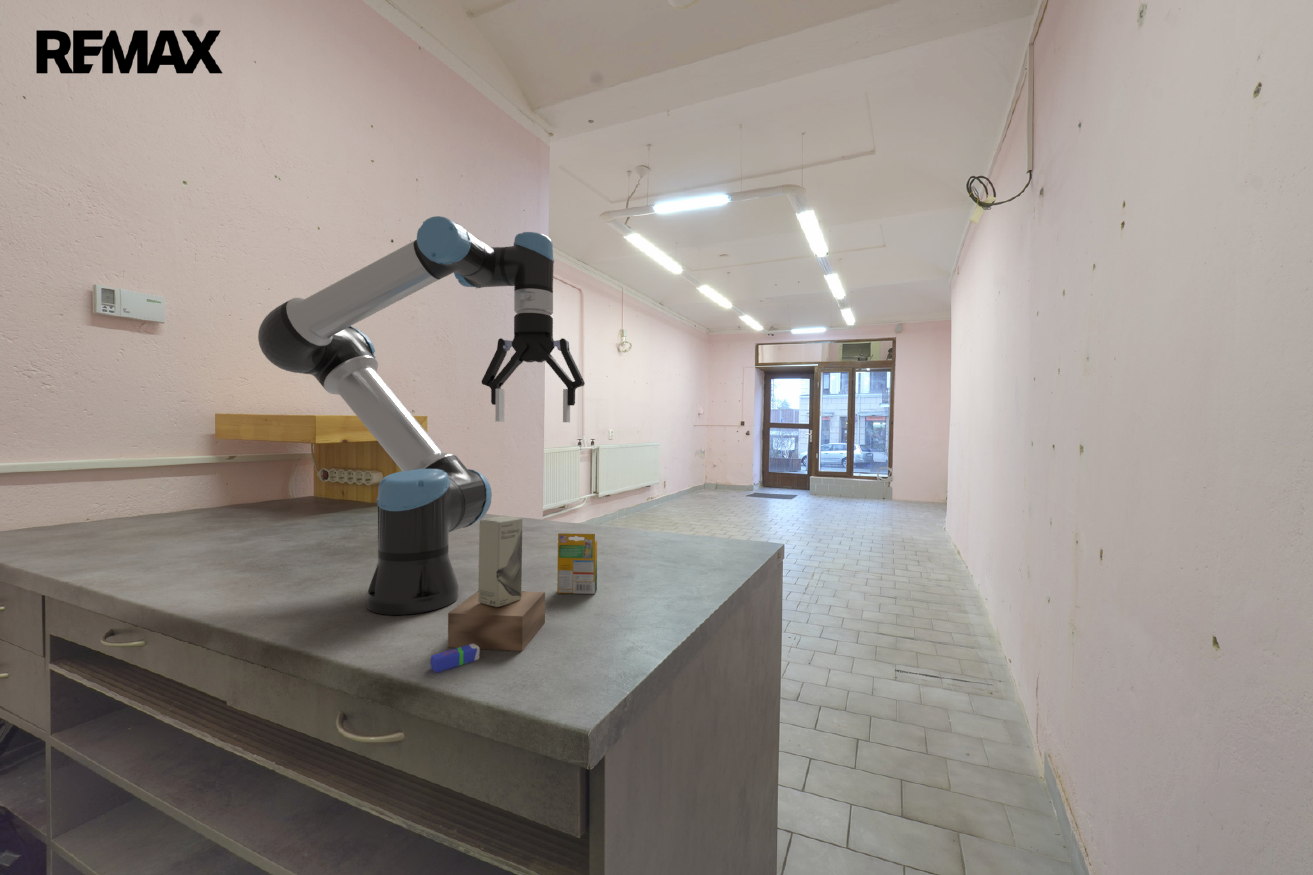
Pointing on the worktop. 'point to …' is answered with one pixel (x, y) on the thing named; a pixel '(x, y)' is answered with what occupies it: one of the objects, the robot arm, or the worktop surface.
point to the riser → (497, 623)
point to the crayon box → (577, 564)
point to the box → (500, 560)
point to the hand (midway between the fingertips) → (533, 422)
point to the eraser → (454, 657)
